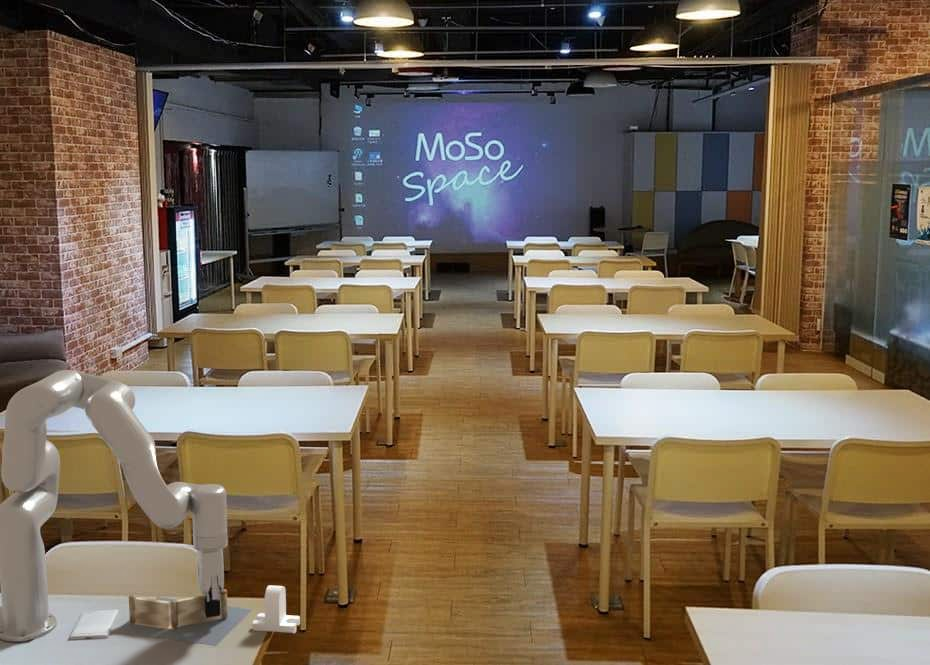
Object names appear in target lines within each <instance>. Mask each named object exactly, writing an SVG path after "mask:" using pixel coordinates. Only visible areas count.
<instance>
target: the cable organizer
mask: <svg viewBox="0 0 930 665" xmlns="http://www.w3.org/2000/svg"><path fill="white" fill-rule="evenodd" d="M286 593H287V591H286V587H285V585H284V586H283V585H270V584H269V585H267V587H266V589H265V593H264V612H260V613H258V614H257V615H256V619H253V621H252V630H253V631H257V632H258V631H259V632H260V631H262V632H275V633H276V632H277V633H289V634H290V633H292V634H293V635H294V634H296V633H297V626H300V625H301V616H300V615H291V614H290V615H289V614H287V598H286V597H287V594H286Z"/></svg>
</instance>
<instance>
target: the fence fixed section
mask: <svg viewBox="0 0 930 665" xmlns="http://www.w3.org/2000/svg"><path fill="white" fill-rule="evenodd" d="M155 599H156V598H155ZM155 599H153V598H147V597H146V598H145V597H138V594H135V593H134V594H129V596H128V610H129V612H128V613H129V620H130V623H131V624H135V623H137V624H144V625H152V626H159V627H166V628H169V627H170V626H171V612H170V601H162V600H155Z"/></svg>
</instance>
